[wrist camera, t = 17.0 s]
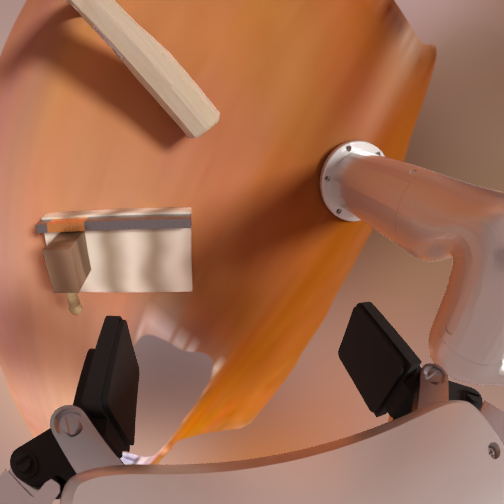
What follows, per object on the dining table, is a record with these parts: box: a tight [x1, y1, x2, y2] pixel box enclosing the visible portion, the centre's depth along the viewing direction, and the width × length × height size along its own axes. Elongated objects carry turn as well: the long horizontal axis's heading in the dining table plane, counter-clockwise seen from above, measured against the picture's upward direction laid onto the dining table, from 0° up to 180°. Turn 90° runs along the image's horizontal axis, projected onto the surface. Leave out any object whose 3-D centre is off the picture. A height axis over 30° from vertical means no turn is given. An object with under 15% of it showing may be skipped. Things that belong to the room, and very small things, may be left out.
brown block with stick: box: [43, 231, 91, 315], centre depth 31 cm, size 4×10×6 cm, turn 175°
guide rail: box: [36, 214, 191, 233], centre depth 32 cm, size 22×1×2 cm, turn 85°
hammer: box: [67, 0, 220, 138], centre depth 20 cm, size 16×5×30 cm
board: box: [42, 207, 192, 292], centre depth 35 cm, size 22×12×2 cm, turn 85°
